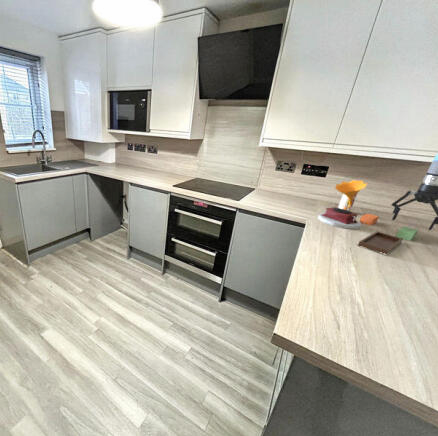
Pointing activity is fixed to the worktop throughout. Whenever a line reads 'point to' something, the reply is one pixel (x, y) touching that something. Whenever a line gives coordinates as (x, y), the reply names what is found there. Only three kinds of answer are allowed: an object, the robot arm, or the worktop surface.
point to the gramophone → (344, 216)
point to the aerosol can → (346, 202)
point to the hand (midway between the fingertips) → (410, 224)
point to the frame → (380, 242)
